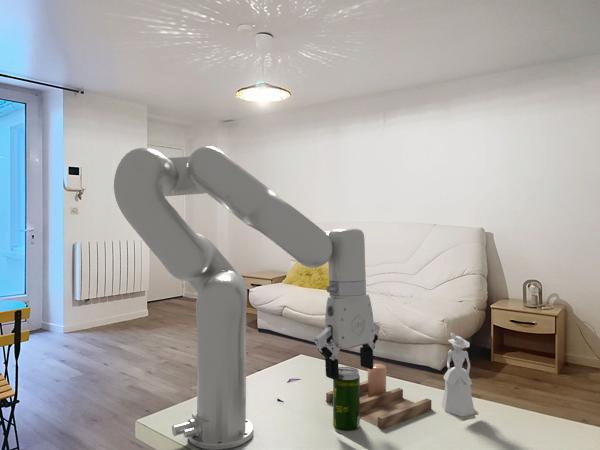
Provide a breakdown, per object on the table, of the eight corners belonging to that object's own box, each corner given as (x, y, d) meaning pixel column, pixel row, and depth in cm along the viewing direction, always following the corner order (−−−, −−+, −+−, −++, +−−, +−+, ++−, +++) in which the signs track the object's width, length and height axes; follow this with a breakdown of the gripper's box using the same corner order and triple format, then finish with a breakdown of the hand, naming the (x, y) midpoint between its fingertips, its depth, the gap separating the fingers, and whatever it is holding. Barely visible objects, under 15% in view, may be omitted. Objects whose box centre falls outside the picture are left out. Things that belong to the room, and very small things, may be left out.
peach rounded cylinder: (377, 400, 99) (377, 370, 99) (363, 395, 103) (363, 365, 103) (390, 396, 102) (390, 367, 102) (376, 391, 105) (376, 362, 105)
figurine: (447, 420, 91) (446, 336, 91) (437, 405, 99) (437, 327, 99) (480, 421, 90) (480, 336, 91) (468, 406, 99) (467, 328, 99)
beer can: (359, 424, 89) (359, 366, 89) (360, 436, 84) (360, 375, 84) (333, 423, 90) (333, 365, 90) (332, 435, 84) (332, 374, 84)
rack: (383, 434, 85) (383, 419, 85) (325, 405, 99) (325, 392, 99) (433, 414, 94) (432, 400, 94) (373, 390, 109) (373, 378, 109)
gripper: (327, 295, 79) (330, 388, 79) (390, 286, 89) (392, 368, 89) (303, 291, 85) (305, 377, 85) (364, 283, 95) (366, 360, 95)
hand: (350, 372), depth 87 cm, fingers open, 9 cm apart
